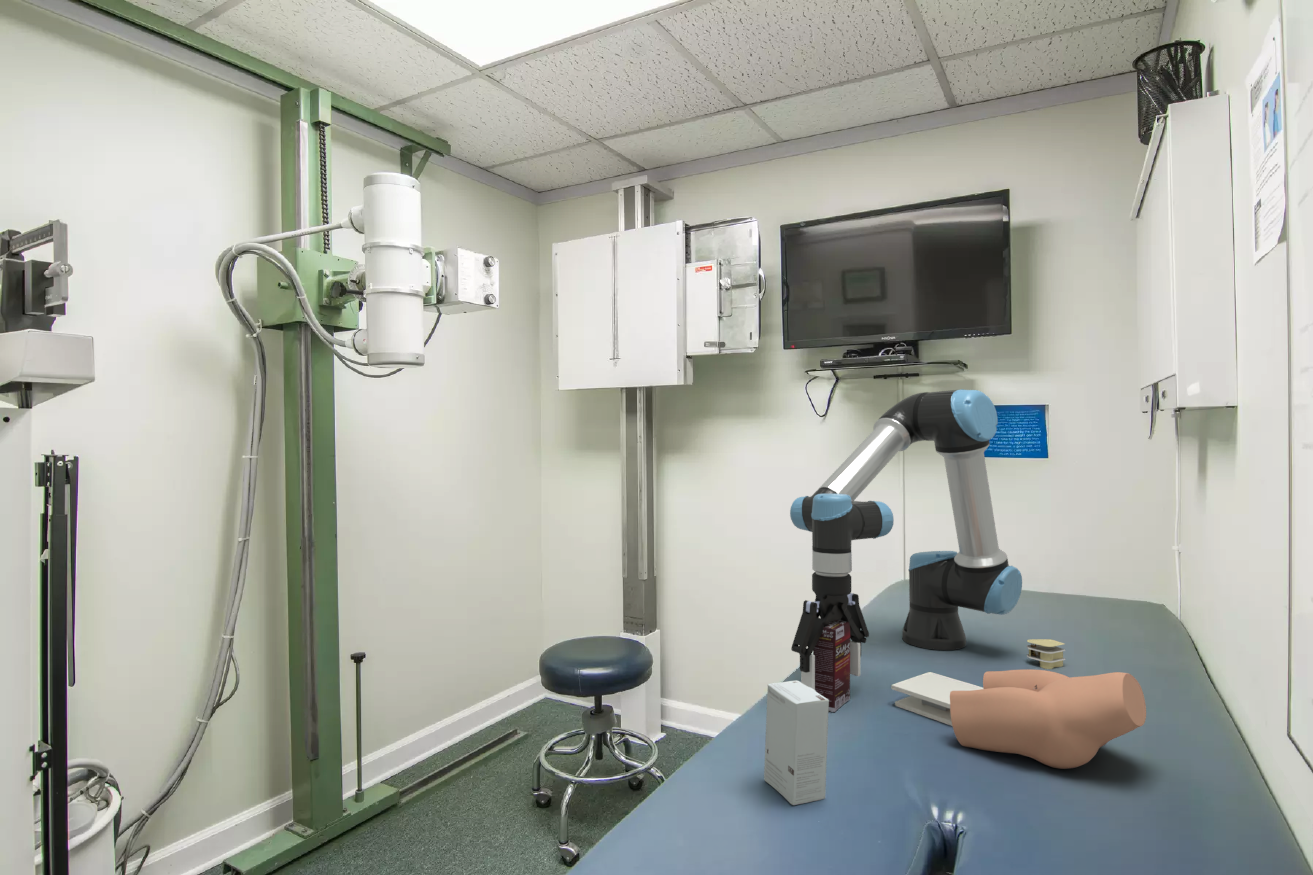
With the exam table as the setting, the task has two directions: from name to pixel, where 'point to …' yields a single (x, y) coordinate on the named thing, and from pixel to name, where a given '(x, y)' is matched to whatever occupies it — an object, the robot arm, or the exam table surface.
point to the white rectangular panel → (930, 695)
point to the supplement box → (833, 664)
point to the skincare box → (796, 741)
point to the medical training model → (1047, 714)
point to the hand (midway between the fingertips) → (831, 681)
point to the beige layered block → (1046, 652)
